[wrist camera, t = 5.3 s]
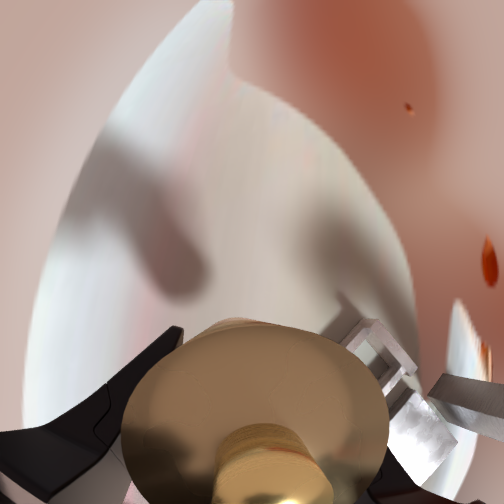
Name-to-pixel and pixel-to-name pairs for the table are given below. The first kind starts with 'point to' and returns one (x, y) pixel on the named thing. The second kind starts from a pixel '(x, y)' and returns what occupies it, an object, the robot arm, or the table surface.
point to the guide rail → (381, 351)
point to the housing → (255, 420)
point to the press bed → (433, 430)
